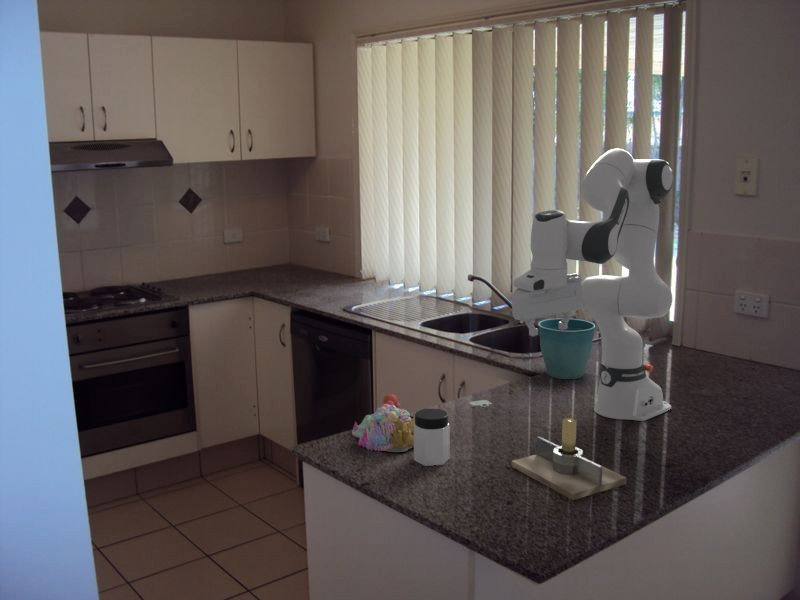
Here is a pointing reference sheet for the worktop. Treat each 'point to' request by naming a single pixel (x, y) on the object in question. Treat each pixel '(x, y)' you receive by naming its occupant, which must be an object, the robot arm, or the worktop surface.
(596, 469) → the grey metal ringed bar
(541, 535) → the worktop surface
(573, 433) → the pin
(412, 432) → the candy landscape model
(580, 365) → the flower pot
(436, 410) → the jar
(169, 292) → the worktop surface
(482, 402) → the mounting bracket
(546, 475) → the birch board
